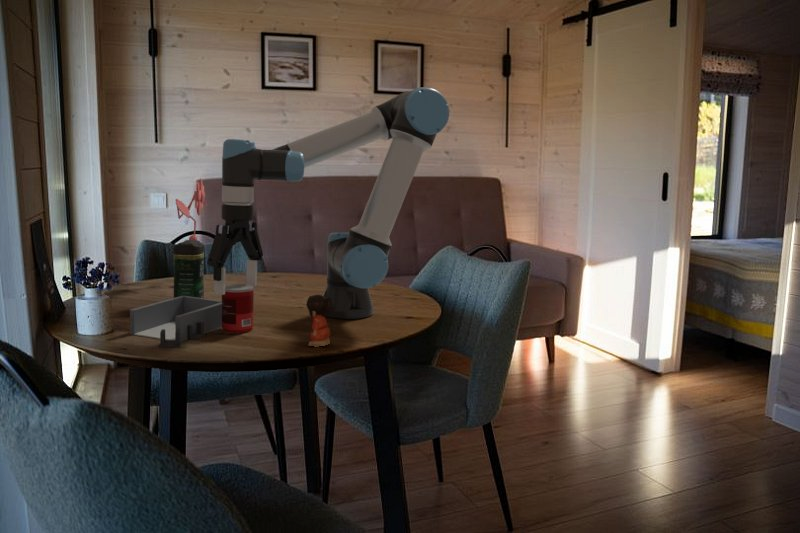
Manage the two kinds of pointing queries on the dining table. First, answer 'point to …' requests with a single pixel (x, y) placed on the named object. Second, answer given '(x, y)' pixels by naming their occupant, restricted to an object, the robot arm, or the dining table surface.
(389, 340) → the dining table surface
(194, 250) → the coffee jar
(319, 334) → the figurine
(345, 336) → the dining table surface
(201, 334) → the clip
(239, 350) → the dining table surface
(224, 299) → the canned food
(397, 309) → the dining table surface
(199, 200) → the pink flower
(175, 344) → the clip
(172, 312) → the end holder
